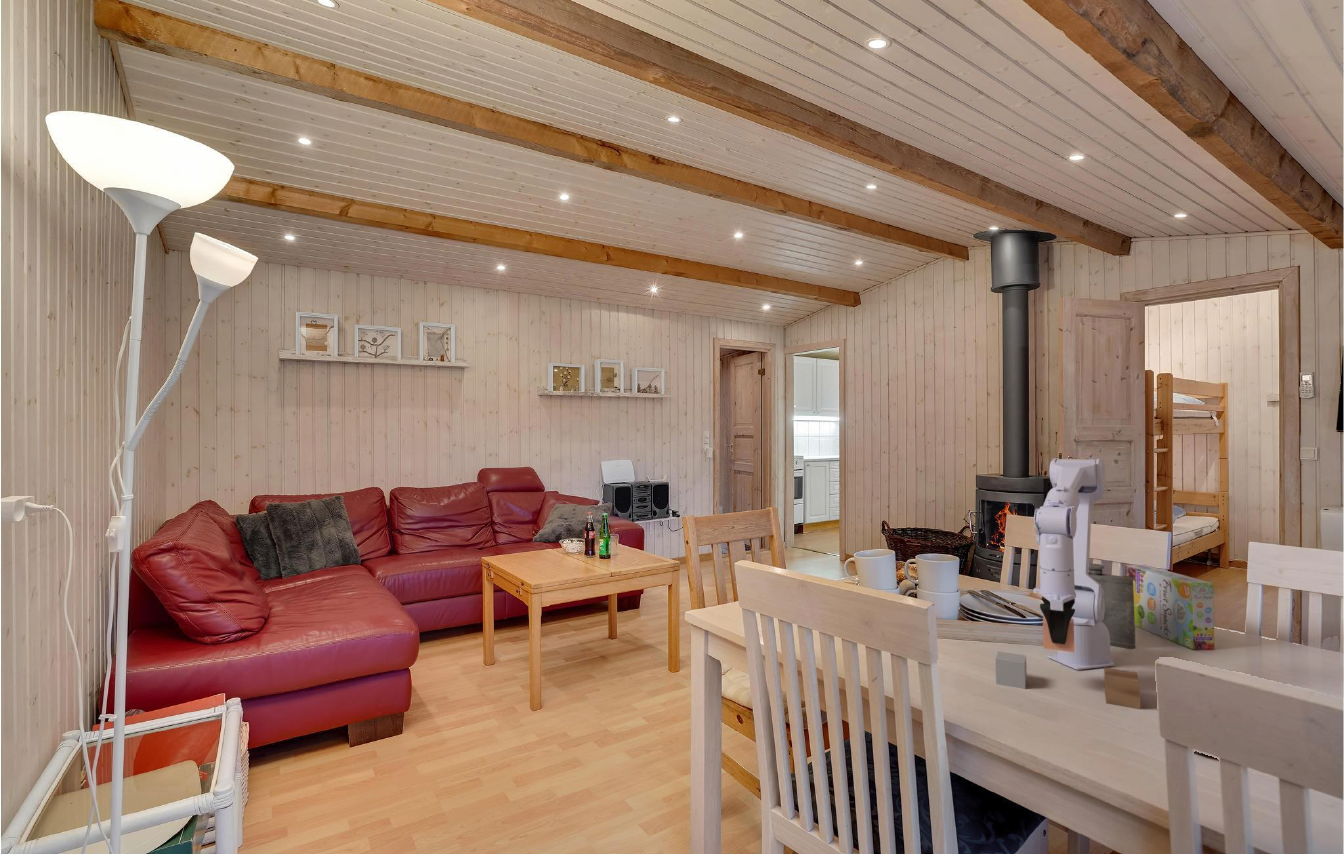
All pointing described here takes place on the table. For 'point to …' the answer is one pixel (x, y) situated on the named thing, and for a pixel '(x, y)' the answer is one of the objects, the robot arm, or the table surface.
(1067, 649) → the terracotta block
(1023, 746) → the table surface
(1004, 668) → the slate block
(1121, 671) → the walnut block
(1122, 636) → the dark grey slab
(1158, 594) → the snack box
